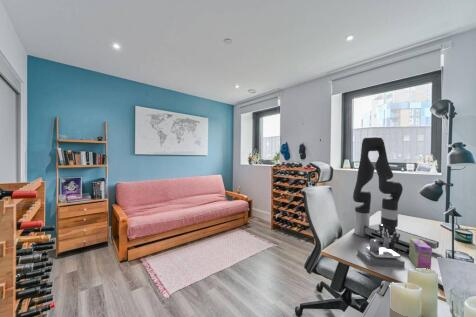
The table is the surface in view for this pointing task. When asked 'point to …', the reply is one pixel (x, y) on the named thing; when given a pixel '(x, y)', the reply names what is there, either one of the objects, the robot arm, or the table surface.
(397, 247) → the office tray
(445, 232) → the table surface
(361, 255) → the scale base
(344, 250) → the table surface
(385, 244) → the spacer
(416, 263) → the box
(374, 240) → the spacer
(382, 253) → the scale pan
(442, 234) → the table surface
